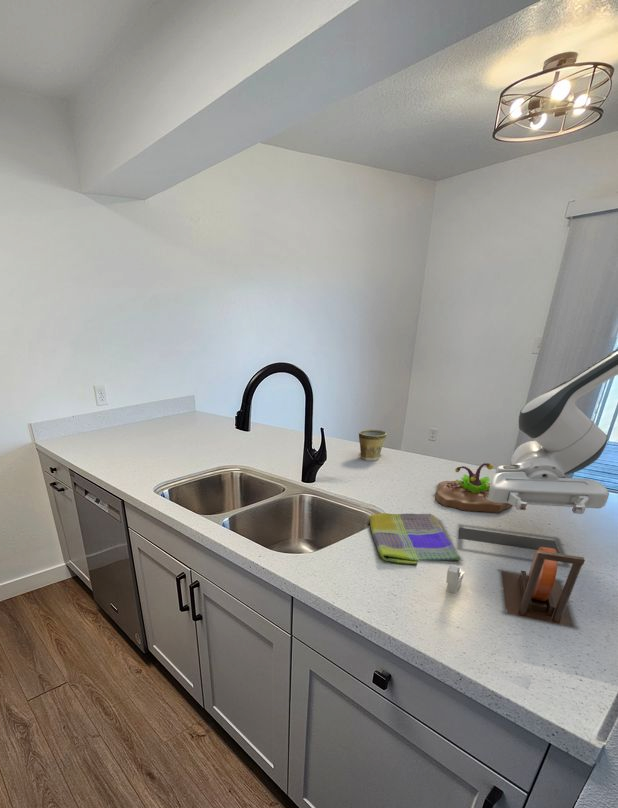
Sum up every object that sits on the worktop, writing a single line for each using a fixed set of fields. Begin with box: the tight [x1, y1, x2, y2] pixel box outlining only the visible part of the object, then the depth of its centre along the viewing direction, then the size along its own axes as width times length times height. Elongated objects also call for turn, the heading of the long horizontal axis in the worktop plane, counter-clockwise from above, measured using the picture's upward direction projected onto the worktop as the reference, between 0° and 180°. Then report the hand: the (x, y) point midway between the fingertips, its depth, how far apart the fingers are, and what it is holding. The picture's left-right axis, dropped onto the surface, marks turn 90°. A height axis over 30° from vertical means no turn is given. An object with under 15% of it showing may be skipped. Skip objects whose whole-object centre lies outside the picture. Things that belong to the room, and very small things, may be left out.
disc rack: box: [500, 551, 586, 628], centre depth 80 cm, size 10×16×14 cm, turn 152°
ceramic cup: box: [358, 429, 388, 462], centre depth 168 cm, size 13×10×10 cm
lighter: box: [445, 565, 465, 595], centre depth 85 cm, size 7×2×8 cm, turn 139°
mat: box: [458, 527, 561, 554], centre depth 102 cm, size 20×14×1 cm
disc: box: [528, 547, 559, 602], centre depth 81 cm, size 2×10×10 cm, turn 152°
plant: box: [434, 462, 512, 514], centre depth 126 cm, size 20×20×11 cm
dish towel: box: [368, 512, 461, 565], centre depth 107 cm, size 18×24×3 cm
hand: (550, 508), depth 87 cm, fingers open, 8 cm apart
